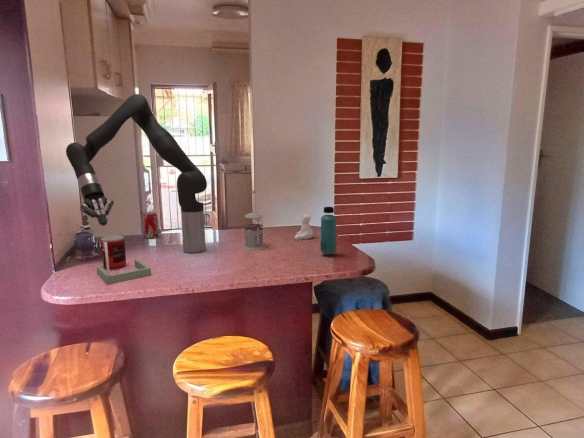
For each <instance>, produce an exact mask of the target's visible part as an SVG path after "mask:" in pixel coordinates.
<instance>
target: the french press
mask: <svg viewBox="0 0 584 438" xmlns="http://www.w3.org/2000/svg"><path fill="white" fill-rule="evenodd" d="M250 193H251V194H256V191H255V190H251V191H250ZM254 203H255V202H254V195H252V207H253V208H252V212H249V213H246V214H245V215H244V218H245V220H246V219H247V220H255V221H256V222H258V223H249V224H245V228H244V234H245V235H244V239H245V242H244V243H245V245H243V248H242V249H244V250H246V251H259V250H263V249H266V245H265V244H264V236H263V234H264V227H263V226H264V225H263V217H264V215H263V214H261V213H258V212H255V210H254V209H255V207H254V206H255V205H254ZM260 220H261V224H260Z"/></svg>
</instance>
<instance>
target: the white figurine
mask: <svg viewBox="0 0 584 438" xmlns="http://www.w3.org/2000/svg"><path fill="white" fill-rule="evenodd" d="M310 221H311V214H310V213H304V214H303V216H301V220H300V222H302V223H301V225H300V230H299V231H297V232H296V233H295V234H296V235H294V240H295V241H300V240H301V241H303V240H302V239H304V240H310V238H311V239H312V238H313V237H314V231H313V229H312V228H311V224H310Z"/></svg>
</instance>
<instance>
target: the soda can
mask: <svg viewBox="0 0 584 438" xmlns="http://www.w3.org/2000/svg"><path fill="white" fill-rule="evenodd" d="M158 216H159V215H158V214H157V211H145V212H143V215H142V219H141V220H142V231H143V232H142V233H143V237H144V238H146V239H151V240H152V239H156V238H158V237H159V236H160V229H159V217H158Z"/></svg>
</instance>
